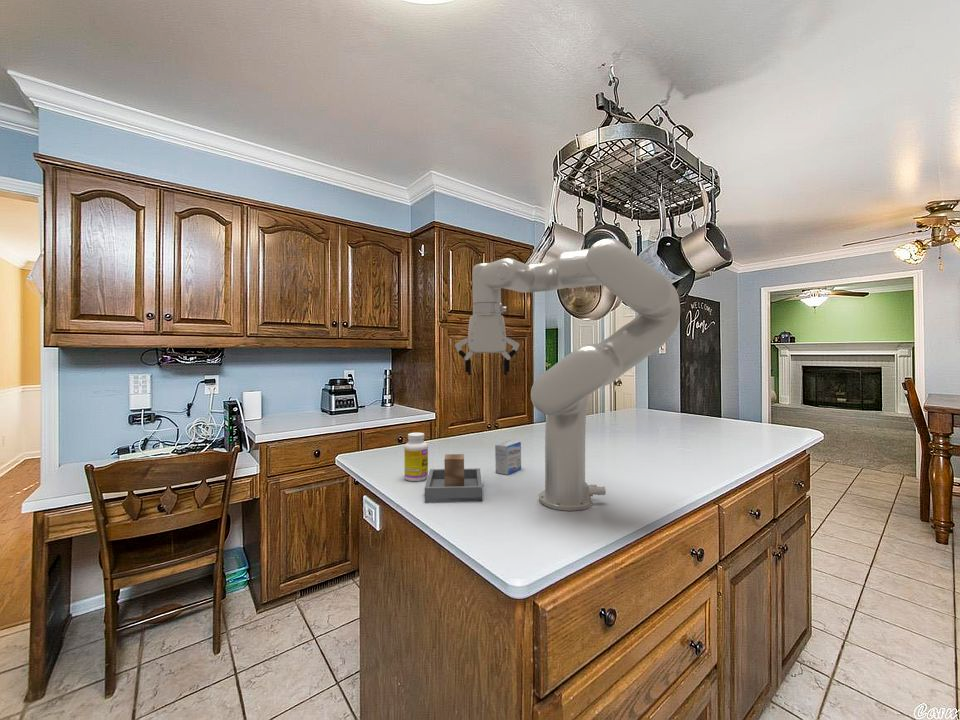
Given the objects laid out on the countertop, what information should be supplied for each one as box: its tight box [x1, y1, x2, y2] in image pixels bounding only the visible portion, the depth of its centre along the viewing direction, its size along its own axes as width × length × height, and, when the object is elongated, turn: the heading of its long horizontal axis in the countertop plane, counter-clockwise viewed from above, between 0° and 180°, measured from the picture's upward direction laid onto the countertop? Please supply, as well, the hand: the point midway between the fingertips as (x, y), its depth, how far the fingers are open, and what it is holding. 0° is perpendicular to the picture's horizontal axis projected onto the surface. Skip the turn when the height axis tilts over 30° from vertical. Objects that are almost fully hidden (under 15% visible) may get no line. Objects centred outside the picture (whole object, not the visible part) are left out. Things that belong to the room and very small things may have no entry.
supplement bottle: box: [403, 432, 429, 482], centre depth 119 cm, size 7×7×13 cm
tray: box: [424, 467, 483, 504], centre depth 108 cm, size 14×16×4 cm
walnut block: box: [443, 453, 465, 487], centre depth 108 cm, size 5×5×8 cm
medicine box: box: [494, 439, 522, 476], centre depth 125 cm, size 8×4×9 cm, turn 143°
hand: (487, 374), depth 110 cm, fingers open, 9 cm apart
